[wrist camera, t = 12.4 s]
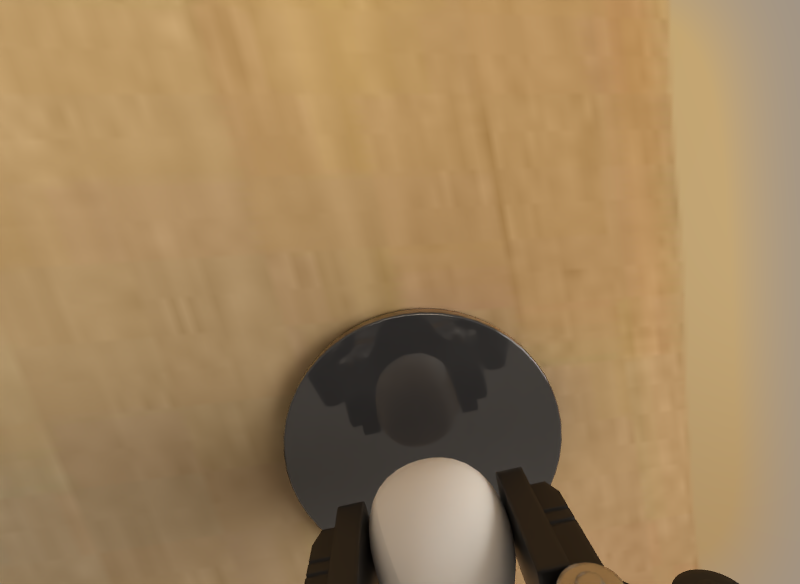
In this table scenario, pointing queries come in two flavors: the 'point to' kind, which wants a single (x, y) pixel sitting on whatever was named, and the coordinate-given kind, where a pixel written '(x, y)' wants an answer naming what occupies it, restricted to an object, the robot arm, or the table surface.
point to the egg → (440, 527)
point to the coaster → (416, 408)
